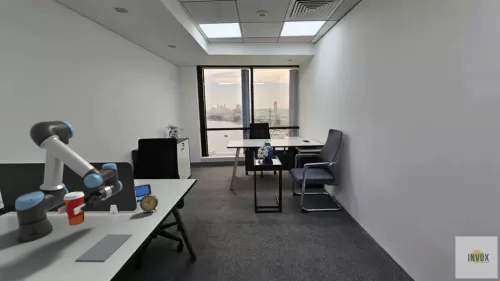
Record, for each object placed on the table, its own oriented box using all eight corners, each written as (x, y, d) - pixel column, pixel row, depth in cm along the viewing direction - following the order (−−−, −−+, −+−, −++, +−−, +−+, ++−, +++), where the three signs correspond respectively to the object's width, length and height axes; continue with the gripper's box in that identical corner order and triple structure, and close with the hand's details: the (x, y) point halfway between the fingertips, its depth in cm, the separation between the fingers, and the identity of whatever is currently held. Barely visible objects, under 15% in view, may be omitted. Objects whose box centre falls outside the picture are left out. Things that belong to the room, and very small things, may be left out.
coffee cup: (75, 218, 118) (72, 191, 116) (91, 218, 118) (87, 191, 116) (61, 226, 110) (58, 197, 108) (78, 226, 110) (74, 197, 108)
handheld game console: (131, 203, 170) (130, 192, 169) (129, 198, 181) (128, 187, 180) (153, 199, 178) (152, 187, 177) (151, 194, 189) (150, 183, 188)
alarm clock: (140, 213, 152) (138, 190, 150) (143, 210, 157) (141, 188, 155) (157, 212, 153) (155, 189, 151) (159, 209, 159) (157, 186, 157)
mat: (75, 261, 104) (75, 260, 104) (107, 235, 126) (107, 234, 126) (104, 261, 103) (104, 260, 103) (132, 235, 125) (132, 234, 125)
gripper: (118, 200, 131) (87, 219, 108) (84, 200, 132) (47, 218, 109) (116, 188, 130) (85, 204, 107) (83, 187, 131) (45, 204, 108)
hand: (66, 211), depth 108 cm, fingers closed on coffee cup, 7 cm apart
